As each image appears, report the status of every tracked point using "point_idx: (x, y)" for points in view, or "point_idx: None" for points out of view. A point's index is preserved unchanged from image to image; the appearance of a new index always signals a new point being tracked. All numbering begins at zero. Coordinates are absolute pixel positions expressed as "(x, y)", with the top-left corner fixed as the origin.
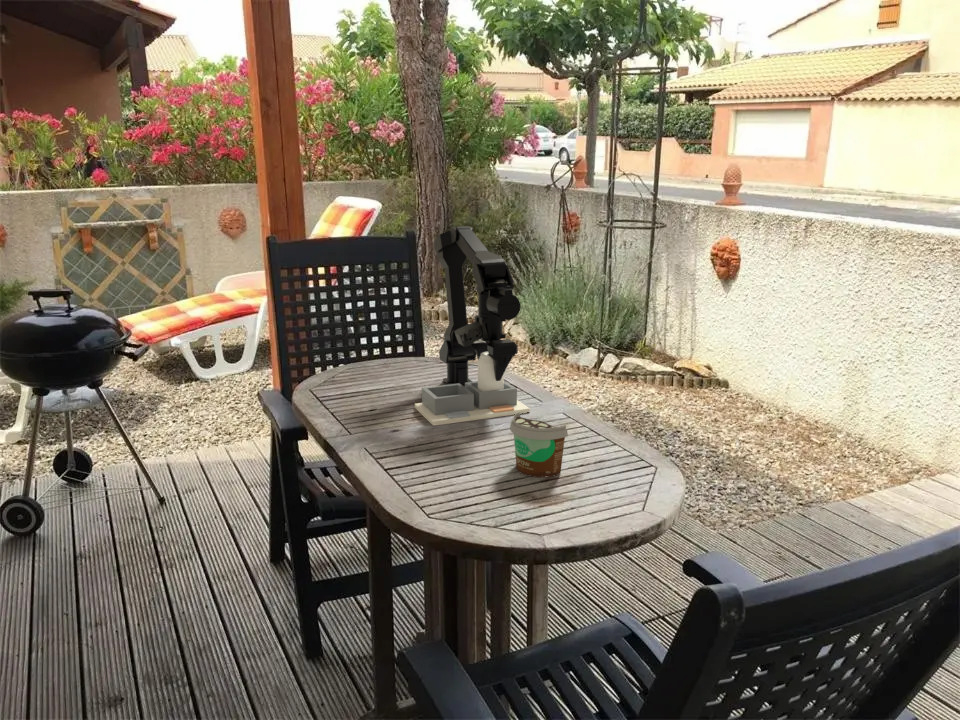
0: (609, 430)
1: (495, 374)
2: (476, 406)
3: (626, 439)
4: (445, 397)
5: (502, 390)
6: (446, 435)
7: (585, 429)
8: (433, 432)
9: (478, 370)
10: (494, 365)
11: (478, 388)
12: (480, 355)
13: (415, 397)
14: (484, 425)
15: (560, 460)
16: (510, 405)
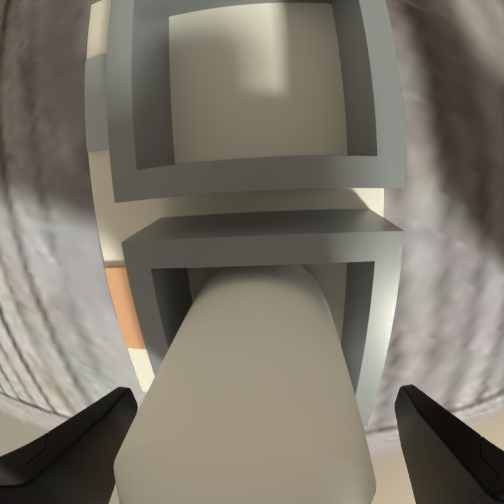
0: (42, 424)
1: (91, 410)
2: (198, 215)
3: (13, 413)
4: (111, 19)
5: (155, 374)
6: (19, 58)
7: (39, 402)
8: (51, 18)
9: (244, 365)
10: (37, 449)
11: (258, 279)
12: (452, 477)
13: (479, 42)
14: (49, 193)
15: None
16: None
